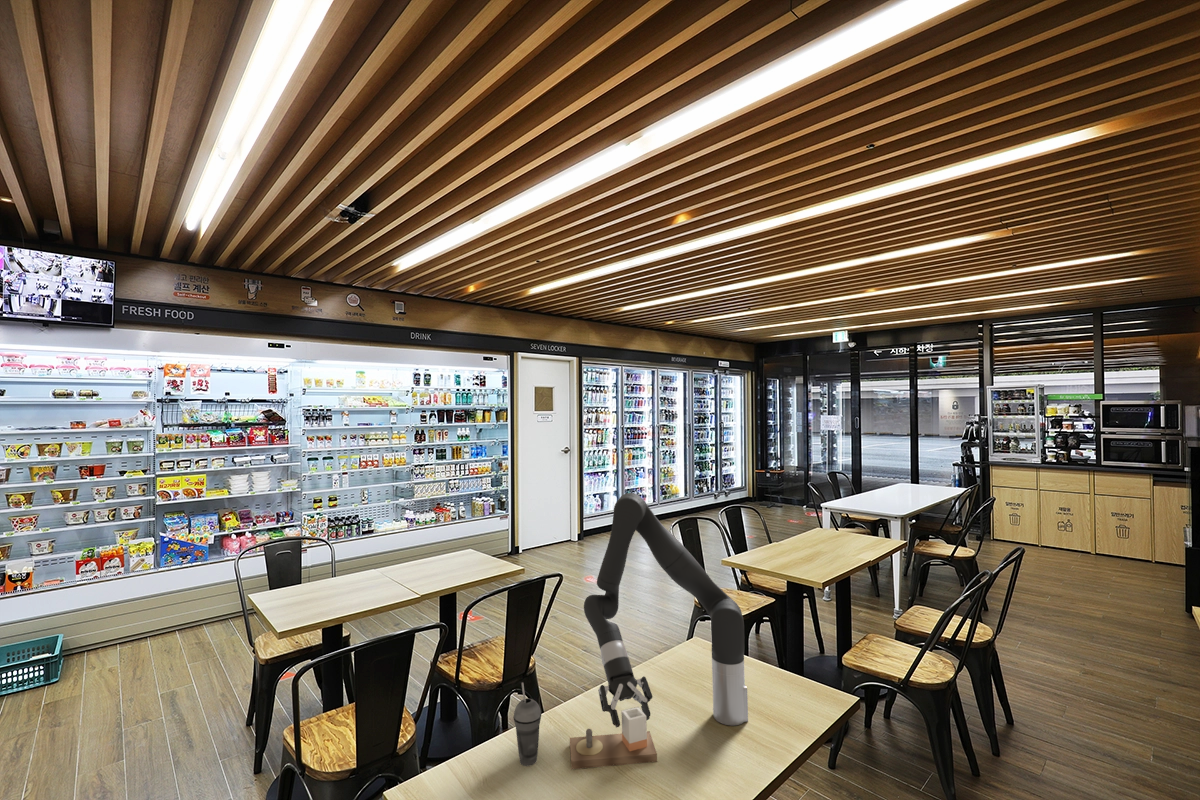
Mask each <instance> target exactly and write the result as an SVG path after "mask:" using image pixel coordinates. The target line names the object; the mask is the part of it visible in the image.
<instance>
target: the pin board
mask: <svg viewBox="0 0 1200 800" xmlns="http://www.w3.org/2000/svg"><path fill="white" fill-rule="evenodd" d="M569 749H570V751H569V753H570V754H569V755H570V763H571V765H570V768H571V770H580V769H588V768H589V769H590V768H601V767H611V766H613V767H614V766H623V765H633V764H644V763H645V764H646V763H656V762H658V753H657V750H656V747H655V744H654V741H653V738H652V734H651V732H650V730H649V731H648V730H647V747H644V748H641V749H637V750H633V751H629V750H628V748H627V747H626V745H625V744H624V743H623V741H622V732H621V733H612V734H611V733H610V734H609V733H608V734H601V735H600V734H599V735H598V734H597V735H593V730H592V729H591V728H587V729H586V732H585V736H576V737H569Z"/></svg>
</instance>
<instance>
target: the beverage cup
mask: <svg viewBox="0 0 1200 800" xmlns="http://www.w3.org/2000/svg"><path fill="white" fill-rule="evenodd" d="M521 689H522V697H523V699H521V700H520V701H519V702H518V703H517V704H516V705H515V706H516V707H515V709H514V712H513V716H512V717H513V720H514V721H513V722H514V726H515V731H516V732H515V733H516V741H517V743H516V744H517V750H518V751H517V753H518V758H519V764H520V765H522V766H523V767H530V766H533V765H535V764H536V763H537V761H538V754H539V740H540V738H539V737H540V723H541V719H542V711H541V708H540V705H539V703H538V702H537V701H536V700H534V699H533V698H526V693H525V686H524V682H521Z"/></svg>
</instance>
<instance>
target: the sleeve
mask: <svg viewBox="0 0 1200 800" xmlns="http://www.w3.org/2000/svg"><path fill="white" fill-rule="evenodd" d="M647 726H648V725H647V720H646V715H645V714H644V713H643V711H642V708H641V707H640V706H635V707H631V708H628V709H627V708H625V709H623V710H621V733H622V741H623V743H624V744H625V745H626V747H627V748H628V750H629V751H633V750H637V749H641V748H644V747H647V731H648V730H647V729H648V728H647Z"/></svg>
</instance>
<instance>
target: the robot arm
mask: <svg viewBox="0 0 1200 800" xmlns="http://www.w3.org/2000/svg"><path fill="white" fill-rule="evenodd" d="M613 506H614V507H613V516H612V517H613V518H612V524H611V530H610V536H609V540H608V543H607V547H606V549H605V552H604V556H603V559H602V562H601V565H600V569H599V572H598V574H597V579H596V585H597V587H598V588H599V589H600V590H601V591H605V594H590V595H588V596H586V598H585V599H584V603H583V611H584V615H585V618H586V619H587V622H588V623H589V625H590V627H591V628H592V631H593V632H594V633H595V636H596V639H597V643H598V646H599V651H600V658H601V664H602V666H603V669H604V673H605V676H606V677H605V678H606V681H607V684H608V685H603V684H601V685H600V687H599V688H598V696H599V701H600V705H601V706H600V707H601V711H602V712H606V713H607V712H608V713H609V715H610V718H611V721H612V725H613V726H615V728H620V726H621V722H620V718H619V714H618V709H616V707H617V705H618V702H619V701H620V702H622V701H625V700H631V699H633V700H634V701H637V703H638V704H640V709H641V710H642V711H643V713H644V714H645V715H646V721H648V720H650V717H651V710H650V708H649V705H648V704H649V702H650V701H651V700H652V699H653V697H654V696H653V693H652V691H651V688H650V686H649V683H648V680H647V678H646V676H642V677H640V678H638V679H636V677H635V676H634V672H633V667H632V664H631V661H630V658H629V657H630V656H629V655H628V651H627V648H626V646H625V644H624V640H623V637H622V633H621V630H620V628H619V626H618V624H617V623H616V622H612V621H609V620H611V619H613V618H614V617H615V616H616V615H617V613H618V610H619V603H620V602H619V601H620V600H619V595H620V585H621V581H622V578H623V574H624V571H625V568H626V567H625V566H626V562H627V558H628V552H629V548H630V544H631V542H632V539H633V536H634V534H635V533H636V532H637V533H638V534H639V536H640V537H642V539H643V540H644V541H645V544H647V546H648V548H649V550H650V551H651V554H652V555H653V557H654V559H655V560H656V563H658V565H659V567H660V568H662V570H663V571H664V572H665V573H666V575H668V577H669V578H671V580H673V582H674V583H676V585H678V586H679V587H680V588H682V589H683V590H685V591H686V592H688V593H690V594H691V595H692V596H693V597H694V598H695V599H696V600H697V601H698V602H699V603H700V605H702V607H703V608H704V610H705V611H706V613H707V614H708V616H709V617H710V630H711V631H710V633H711V671H712V672H711V673H712V674H711V675H712V677H711V678H712V683H711V684H712V711H713V712H712V713H713V714H712V715H713V718H714V720H716V722H718V723H720V724H722V725H726V726H738V725H739V726H740V725H742V724H744V723H745V722H749V703H748V698H749V697H748V687H747V685H746V684H745V680H746V679H745V621H744V616H743V613H742V610H741V608H740V606H739V605H738V604H737V602H736V601H734V599H733V598H731V597H730V596H729V595H728V594H727V593H726V592H724V590H722V589H721V588H720V587H719V586H718V585H717V584H716V583H715V582H714V581H713V580H712V579H711V577H710V575H709V574H708V573H707V572H706V570H705V569H704V568H703V567H702V565H701V564H700V563H699V562H698V561H697V560H696V558H695V557H694V556H693V555H692V553H690V552H689V550H688V549H687V548H686V547H685V546H684V545H683V544H682V543H681V542H680V541H679V539H678V538H676V537H675V536H674V535H673V533H671V531H669V530H668V529H667V528H666V527H665V526H664V525H663V524H662V522H661V521H660V520H659V519H658V517H657V516H656V515H655V513H654V512H653V511H652V509H651V508H650V507H649V506H648V504H647V502H646V501H645V500H644V499H643V498H642V496H640V495H639V494H636V493H634V492H627V493H624V494H623V495H621V496H620V497H619V498H618V499H617V501H616V502H615V504H614V505H613ZM637 685H638V686H639V688H641V690H642V692H641V690H639V689H638V688H637ZM608 692H609V693H610V694H611V695H612V700H611V702H610V704H609V702H608V697H607V695H608Z"/></svg>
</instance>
